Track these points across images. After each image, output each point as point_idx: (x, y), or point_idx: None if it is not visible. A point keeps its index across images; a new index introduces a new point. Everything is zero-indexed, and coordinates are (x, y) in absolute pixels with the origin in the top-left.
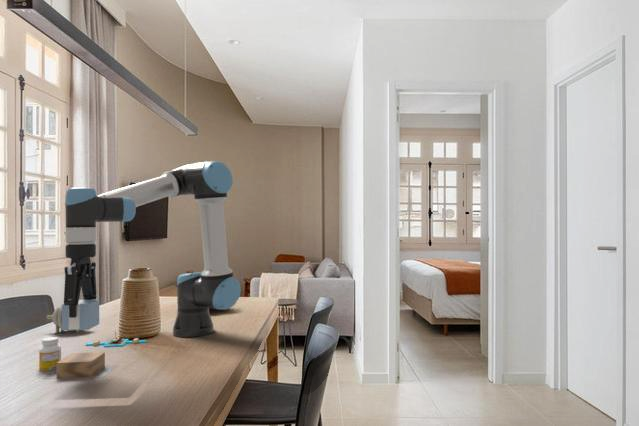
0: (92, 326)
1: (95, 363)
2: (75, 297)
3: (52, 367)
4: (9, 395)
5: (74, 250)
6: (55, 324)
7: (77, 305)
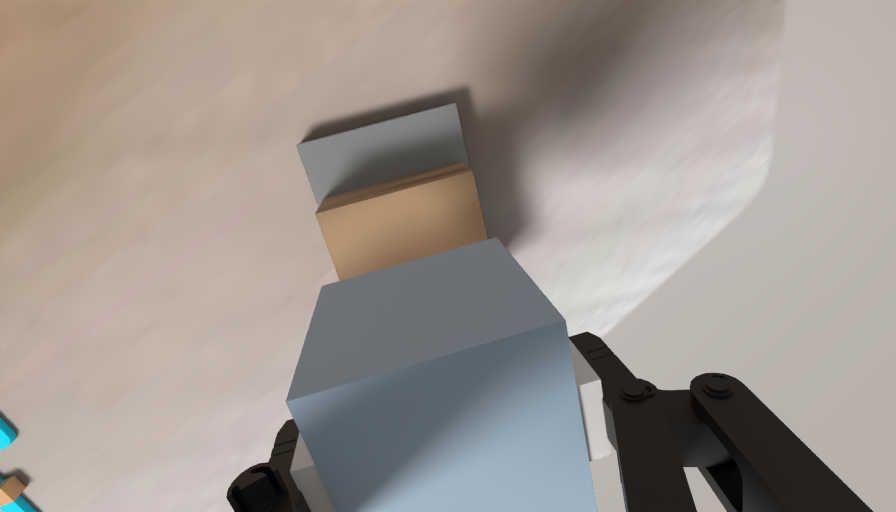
0: (435, 256)
1: (422, 179)
2: (721, 423)
3: None
4: (594, 333)
5: None
6: None
7: (601, 387)
